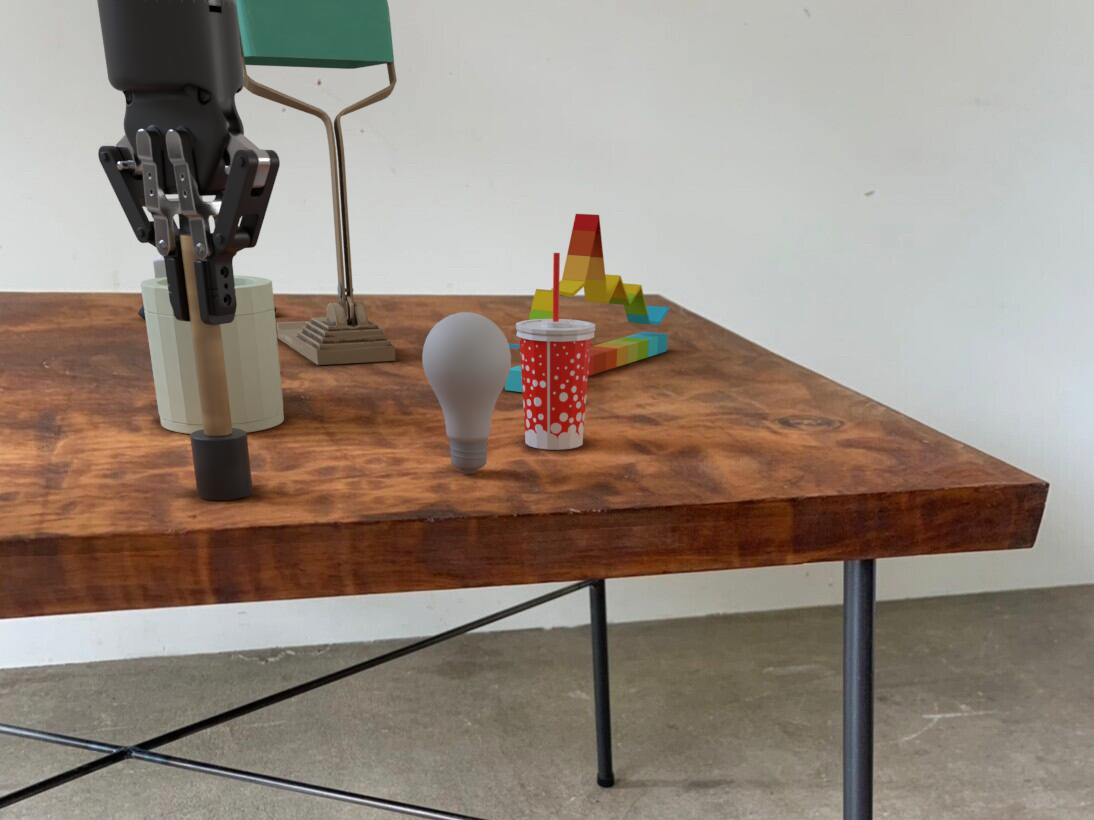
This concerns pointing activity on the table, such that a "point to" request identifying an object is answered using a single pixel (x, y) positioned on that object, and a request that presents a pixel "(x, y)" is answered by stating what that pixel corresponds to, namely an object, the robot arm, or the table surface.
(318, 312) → the table surface
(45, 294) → the table surface
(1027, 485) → the table surface
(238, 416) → the jar
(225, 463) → the brush
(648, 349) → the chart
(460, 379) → the lightbulb
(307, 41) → the banker's lamp
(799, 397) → the table surface
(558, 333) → the beverage cup
